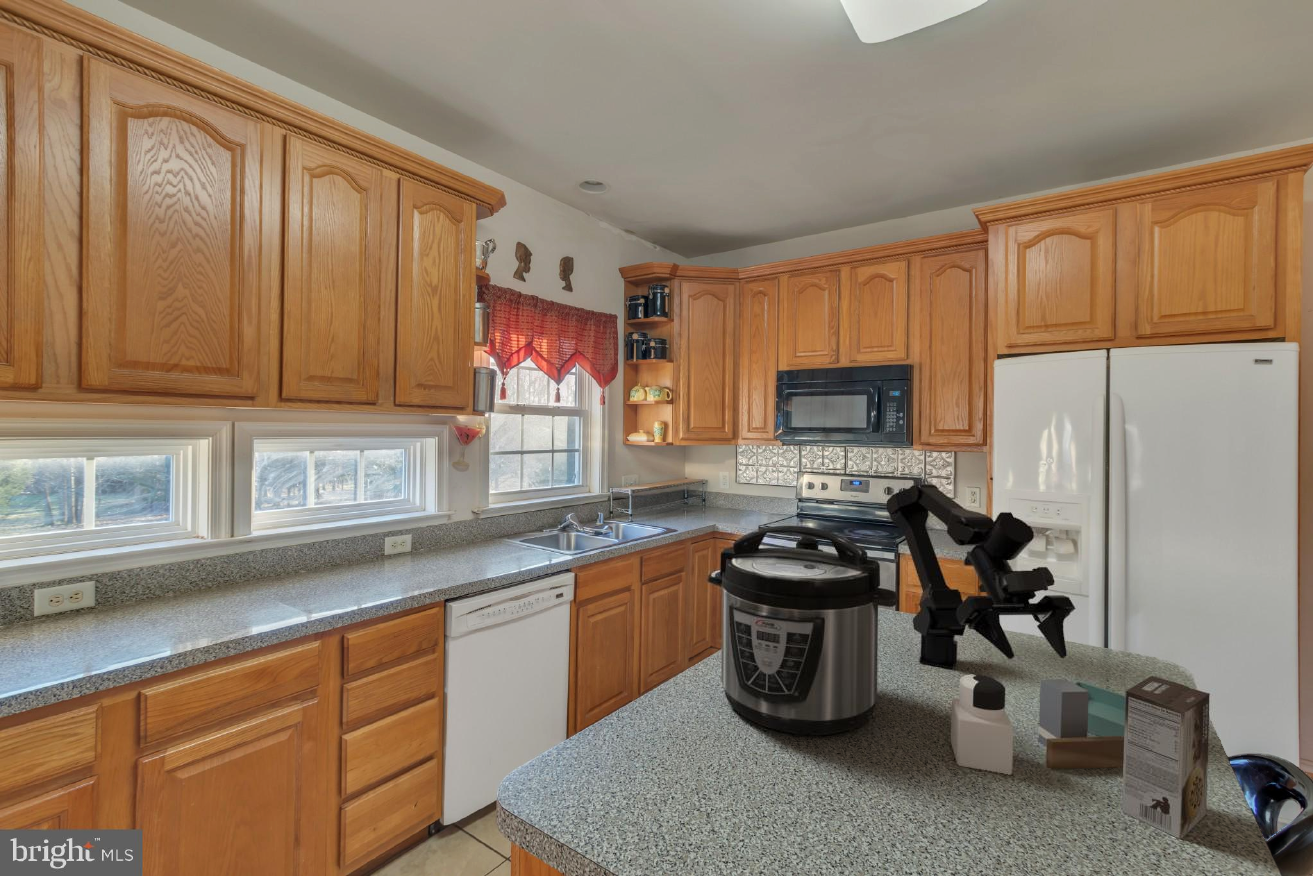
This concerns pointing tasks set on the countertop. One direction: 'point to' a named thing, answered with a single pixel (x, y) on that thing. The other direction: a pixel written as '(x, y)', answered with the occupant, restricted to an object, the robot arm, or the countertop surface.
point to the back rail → (1085, 752)
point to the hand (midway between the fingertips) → (1038, 657)
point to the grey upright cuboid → (1062, 710)
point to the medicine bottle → (981, 725)
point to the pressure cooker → (800, 631)
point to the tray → (1104, 710)
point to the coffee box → (1166, 755)
